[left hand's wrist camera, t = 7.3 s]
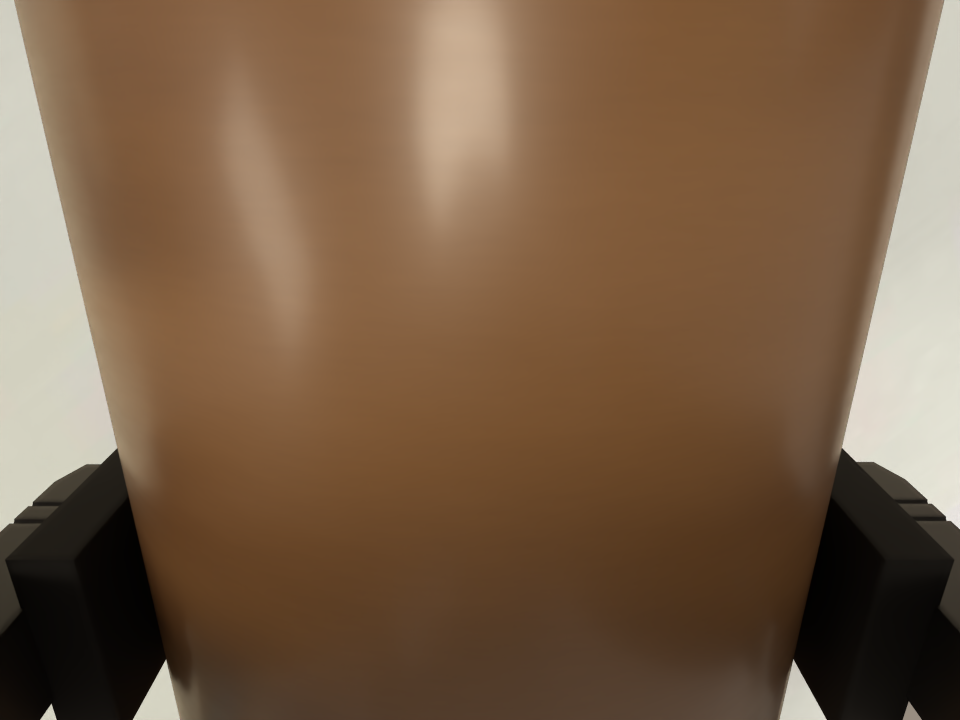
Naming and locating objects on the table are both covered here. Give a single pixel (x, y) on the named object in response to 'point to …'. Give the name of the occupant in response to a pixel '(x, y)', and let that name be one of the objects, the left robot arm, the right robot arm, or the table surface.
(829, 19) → the rod
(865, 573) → the left robot arm
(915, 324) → the table surface
